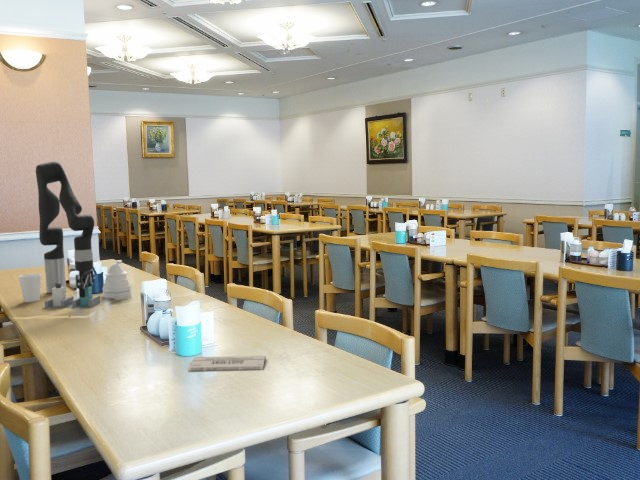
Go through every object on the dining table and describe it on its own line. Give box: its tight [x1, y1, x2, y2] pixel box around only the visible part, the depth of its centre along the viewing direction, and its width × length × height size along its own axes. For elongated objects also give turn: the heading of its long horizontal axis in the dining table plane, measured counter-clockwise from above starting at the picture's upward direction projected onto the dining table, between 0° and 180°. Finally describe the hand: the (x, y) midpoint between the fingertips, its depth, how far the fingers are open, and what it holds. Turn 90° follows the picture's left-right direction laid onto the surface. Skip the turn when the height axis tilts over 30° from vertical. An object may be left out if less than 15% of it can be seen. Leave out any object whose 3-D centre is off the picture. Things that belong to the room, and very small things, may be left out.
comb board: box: [42, 295, 102, 309], centre depth 258 cm, size 12×22×4 cm, turn 91°
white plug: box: [51, 283, 67, 306], centre depth 257 cm, size 4×4×10 cm
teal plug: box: [80, 282, 93, 306], centre depth 257 cm, size 4×4×10 cm
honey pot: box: [102, 259, 132, 301], centre depth 277 cm, size 13×13×18 cm
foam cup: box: [18, 273, 42, 303], centre depth 269 cm, size 10×9×13 cm
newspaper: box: [187, 355, 267, 373], centre depth 174 cm, size 23×12×2 cm, turn 91°
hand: (86, 295), depth 258 cm, fingers open, 8 cm apart
